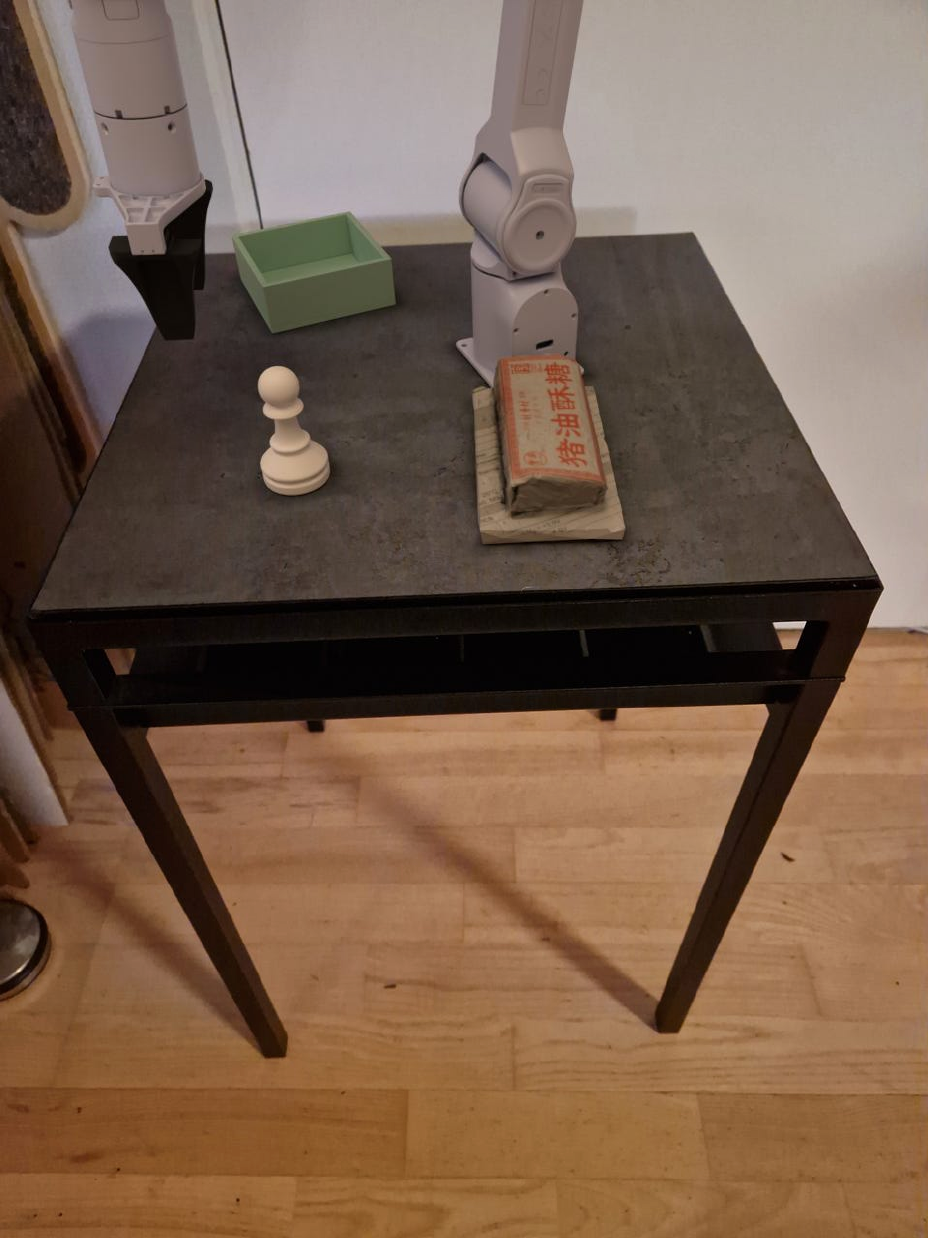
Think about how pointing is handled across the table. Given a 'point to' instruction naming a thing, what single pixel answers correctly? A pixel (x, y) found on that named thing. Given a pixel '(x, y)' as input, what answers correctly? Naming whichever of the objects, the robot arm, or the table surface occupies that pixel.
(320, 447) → the chess pawn
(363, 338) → the table surface
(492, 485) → the packaged product
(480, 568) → the table surface
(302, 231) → the open green box
